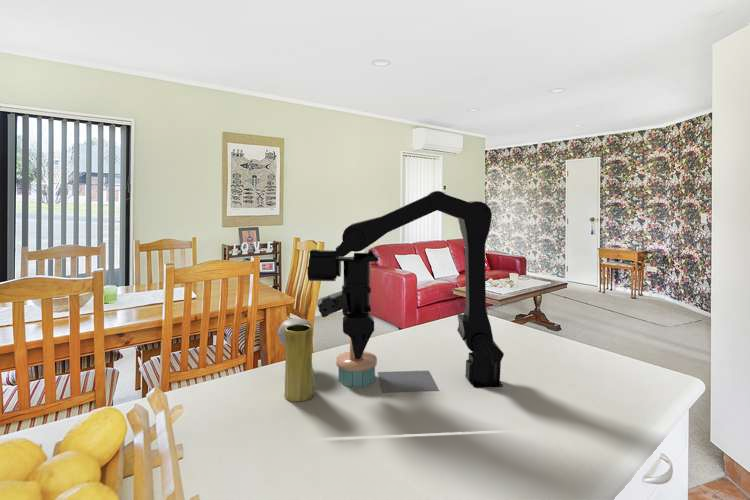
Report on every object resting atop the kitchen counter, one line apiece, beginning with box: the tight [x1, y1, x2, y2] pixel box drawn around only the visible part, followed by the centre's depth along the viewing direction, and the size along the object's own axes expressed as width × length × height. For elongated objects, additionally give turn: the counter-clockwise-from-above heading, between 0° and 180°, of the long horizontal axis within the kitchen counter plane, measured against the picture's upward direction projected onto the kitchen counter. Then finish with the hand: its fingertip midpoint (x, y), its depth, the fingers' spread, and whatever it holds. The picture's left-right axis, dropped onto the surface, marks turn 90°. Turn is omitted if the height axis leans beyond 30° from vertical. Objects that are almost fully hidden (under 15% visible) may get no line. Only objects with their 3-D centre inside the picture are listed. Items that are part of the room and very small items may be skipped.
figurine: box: [277, 317, 314, 347], centre depth 95 cm, size 8×8×12 cm
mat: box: [377, 370, 440, 394], centre depth 89 cm, size 12×10×1 cm
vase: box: [283, 324, 315, 402], centre depth 82 cm, size 6×6×14 cm
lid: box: [335, 337, 378, 371], centre depth 89 cm, size 9×9×6 cm
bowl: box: [338, 366, 376, 388], centre depth 89 cm, size 8×8×4 cm
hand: (356, 350), depth 89 cm, fingers open, 9 cm apart
